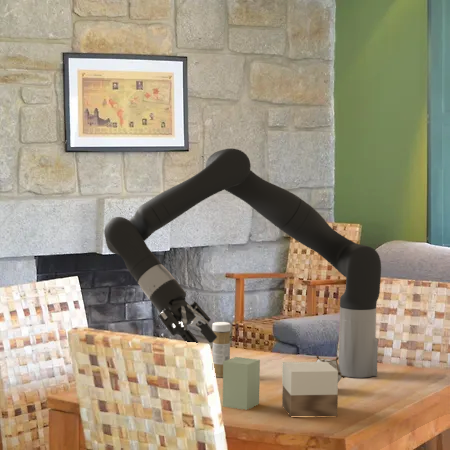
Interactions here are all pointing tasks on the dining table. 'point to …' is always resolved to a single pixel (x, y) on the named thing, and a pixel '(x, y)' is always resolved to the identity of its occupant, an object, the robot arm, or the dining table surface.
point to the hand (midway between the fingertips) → (204, 343)
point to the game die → (332, 363)
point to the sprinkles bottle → (221, 346)
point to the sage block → (241, 383)
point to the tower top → (310, 378)
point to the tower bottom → (309, 404)
